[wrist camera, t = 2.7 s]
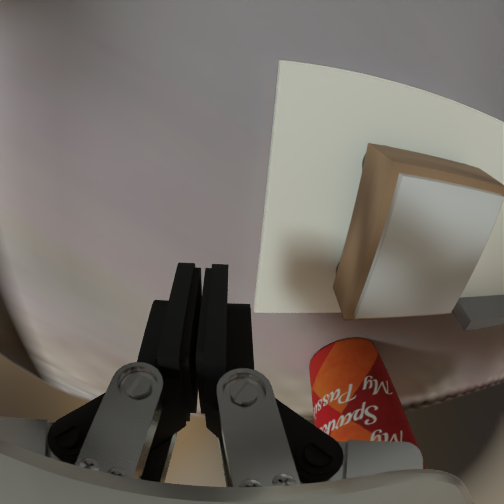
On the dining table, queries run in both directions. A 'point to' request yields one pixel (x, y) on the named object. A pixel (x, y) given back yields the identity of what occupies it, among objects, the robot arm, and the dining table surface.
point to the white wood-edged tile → (413, 234)
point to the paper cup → (356, 394)
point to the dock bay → (348, 179)
